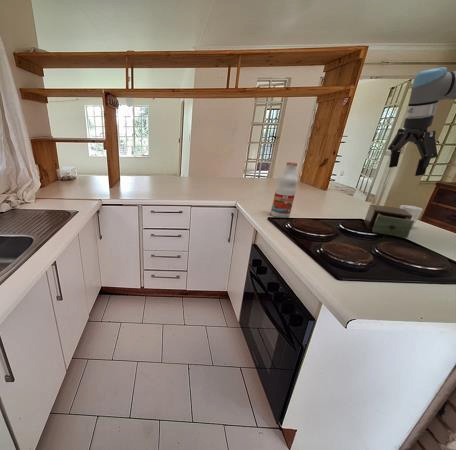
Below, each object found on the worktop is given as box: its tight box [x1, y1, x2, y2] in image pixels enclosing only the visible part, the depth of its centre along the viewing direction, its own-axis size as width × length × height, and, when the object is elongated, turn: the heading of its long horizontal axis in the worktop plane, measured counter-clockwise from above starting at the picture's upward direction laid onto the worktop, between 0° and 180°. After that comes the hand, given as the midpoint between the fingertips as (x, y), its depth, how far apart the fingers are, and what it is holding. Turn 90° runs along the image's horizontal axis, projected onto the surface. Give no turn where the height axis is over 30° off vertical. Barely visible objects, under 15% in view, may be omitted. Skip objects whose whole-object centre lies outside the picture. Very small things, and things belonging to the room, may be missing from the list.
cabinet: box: [363, 203, 412, 231], centre depth 113 cm, size 15×13×10 cm
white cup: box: [399, 204, 424, 229], centre depth 118 cm, size 8×8×10 cm
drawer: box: [371, 212, 414, 239], centre depth 107 cm, size 15×11×8 cm
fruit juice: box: [270, 161, 299, 219], centre depth 123 cm, size 9×9×28 cm
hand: (405, 170), depth 99 cm, fingers open, 13 cm apart
